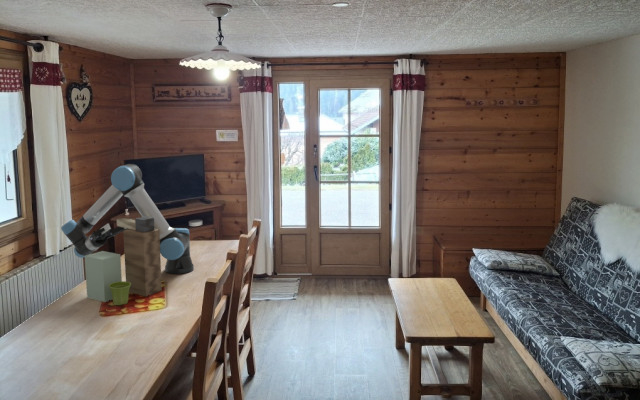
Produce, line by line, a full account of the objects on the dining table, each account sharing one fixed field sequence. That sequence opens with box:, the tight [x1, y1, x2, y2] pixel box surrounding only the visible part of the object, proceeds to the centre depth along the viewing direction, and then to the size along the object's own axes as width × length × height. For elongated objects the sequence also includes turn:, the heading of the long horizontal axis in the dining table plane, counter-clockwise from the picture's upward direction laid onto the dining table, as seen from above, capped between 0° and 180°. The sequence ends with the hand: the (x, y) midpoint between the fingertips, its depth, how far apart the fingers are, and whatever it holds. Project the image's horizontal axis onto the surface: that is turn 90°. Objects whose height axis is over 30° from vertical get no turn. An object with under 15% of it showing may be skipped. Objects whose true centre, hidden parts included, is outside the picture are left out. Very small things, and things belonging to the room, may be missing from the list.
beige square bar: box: [116, 216, 154, 233], centre depth 266 cm, size 6×22×6 cm, turn 55°
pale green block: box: [84, 250, 123, 303], centre depth 258 cm, size 10×12×20 cm
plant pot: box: [109, 280, 131, 306], centre depth 251 cm, size 9×9×9 cm
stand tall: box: [122, 229, 163, 297], centre depth 266 cm, size 10×13×30 cm
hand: (120, 223), depth 269 cm, fingers open, 13 cm apart
